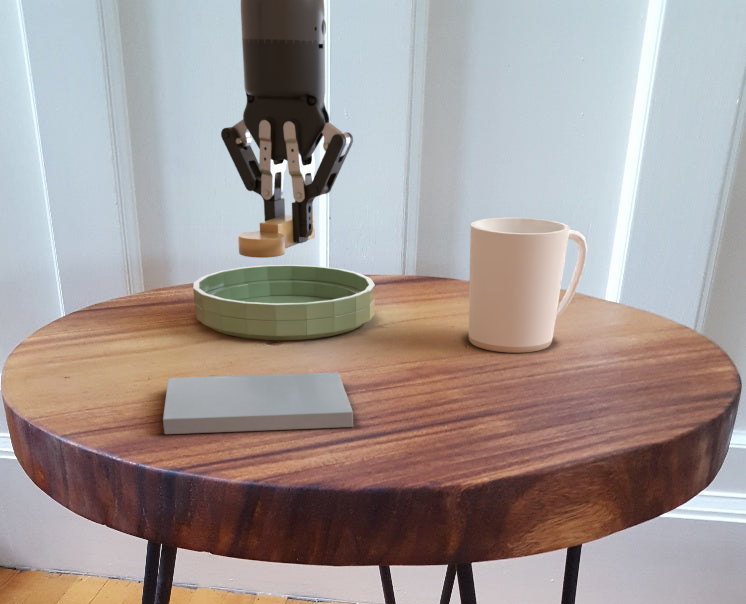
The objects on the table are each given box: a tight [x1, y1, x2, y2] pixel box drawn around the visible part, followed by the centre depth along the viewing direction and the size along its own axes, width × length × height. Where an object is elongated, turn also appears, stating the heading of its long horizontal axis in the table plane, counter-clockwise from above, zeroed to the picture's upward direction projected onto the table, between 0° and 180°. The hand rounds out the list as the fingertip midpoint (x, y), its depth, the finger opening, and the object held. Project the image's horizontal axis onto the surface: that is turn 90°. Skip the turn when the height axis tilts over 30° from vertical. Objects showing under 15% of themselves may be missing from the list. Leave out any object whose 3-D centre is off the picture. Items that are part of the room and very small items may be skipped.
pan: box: [192, 264, 376, 341], centre depth 98 cm, size 18×18×4 cm
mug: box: [468, 217, 588, 354], centre depth 90 cm, size 11×9×10 cm
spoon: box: [237, 212, 316, 259], centre depth 94 cm, size 12×4×2 cm, turn 158°
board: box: [162, 371, 354, 435], centre depth 75 cm, size 14×10×1 cm
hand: (289, 240), depth 96 cm, fingers closed on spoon, 2 cm apart
